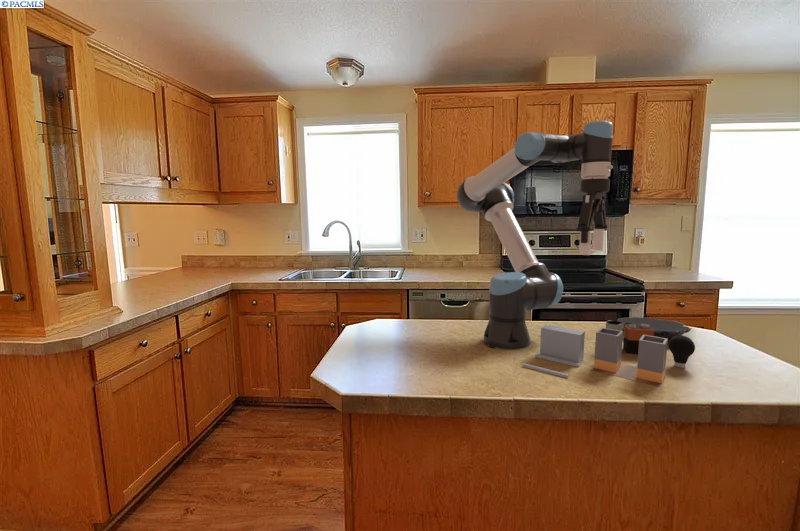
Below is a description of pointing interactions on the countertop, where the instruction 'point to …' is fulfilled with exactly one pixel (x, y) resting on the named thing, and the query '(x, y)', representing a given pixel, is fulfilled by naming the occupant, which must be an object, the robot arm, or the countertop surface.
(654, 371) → the sleeve
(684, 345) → the light bulb
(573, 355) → the feeder
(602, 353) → the seated sleeve
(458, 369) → the countertop surface
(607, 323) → the planter
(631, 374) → the pinboard
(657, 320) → the board
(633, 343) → the battery
